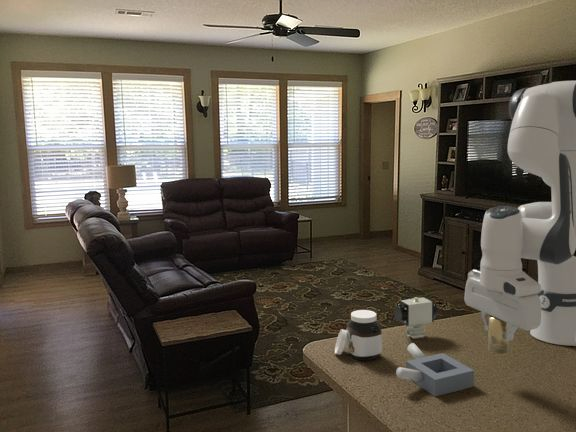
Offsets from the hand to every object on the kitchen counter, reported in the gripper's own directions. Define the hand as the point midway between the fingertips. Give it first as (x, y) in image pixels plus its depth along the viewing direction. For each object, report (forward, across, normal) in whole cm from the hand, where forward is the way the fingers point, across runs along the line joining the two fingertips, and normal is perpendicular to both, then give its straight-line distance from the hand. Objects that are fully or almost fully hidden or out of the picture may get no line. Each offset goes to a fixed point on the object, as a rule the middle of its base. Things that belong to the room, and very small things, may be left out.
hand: (498, 334), depth 118 cm
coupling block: (+11, -9, -16) cm, 21 cm away
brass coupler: (+4, 0, 0) cm, 4 cm away
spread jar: (+12, -28, -23) cm, 38 cm away
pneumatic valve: (+12, -32, -1) cm, 34 cm away
